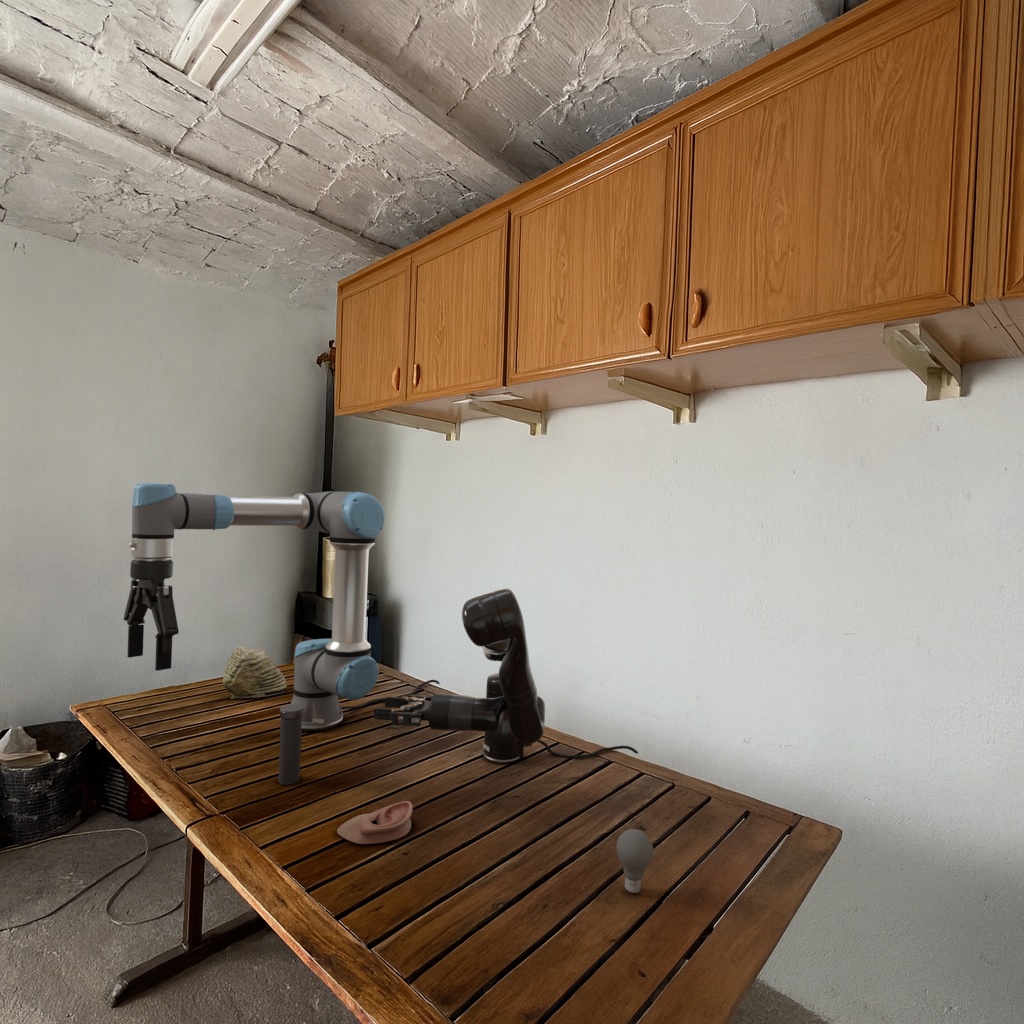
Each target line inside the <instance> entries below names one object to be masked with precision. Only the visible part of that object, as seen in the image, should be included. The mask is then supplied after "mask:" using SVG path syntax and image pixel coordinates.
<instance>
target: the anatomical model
mask: <svg viewBox="0 0 1024 1024" xmlns="http://www.w3.org/2000/svg"><path fill="white" fill-rule="evenodd" d="M413 811H414V810H413V804H412V802H411V801H409V800H404V801H399V802H396V803H392V804H389V805H387V806H384V807H382V808H380V809H377V810H375V811H373V812H370V813H362V814H358V815H357V816H354V817H352V818H350V819H348V820H347V821H345V822H344V823H342V824H341V825H339V827H338V828H337V829H336V833H337V835H339V837H342V838H343V839H345V840H346V841H349V842H351V843H353V844H357V845H373V844H382V843H388V842H391V841H394V840H398V839H400V838H403V837H404V836H406V835H407V834H408V833H409V832H410V831H411V828H412V820H411V817H412V814H413Z"/></svg>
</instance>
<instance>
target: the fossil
mask: <svg viewBox="0 0 1024 1024" xmlns="http://www.w3.org/2000/svg"><path fill="white" fill-rule="evenodd" d="M222 676H223V677H222V685H223V687H224V688H225V690H226V691H228V693H229V698H230V699H250V698H264V697H271V696H275V695H281V694H284V693H285V691H286V689H287V687H288V686H287V680H286V678H285V676H284V674H283V673H282V672H281V669H279V668H278V667H277V665H276V663H275V662H274V660H273V659H272V658H271V657H270V656H269V655H268V654H267V653H266V652H265V650H264V649H263V648H260V647H258V648H251V647H247V646H246V647H245V646H238V647H237V648H236V649H235V650H233V651H232V653H231V656H230V657H229V659H228V660H227V663H226V666H225V668H224V671H223V675H222Z"/></svg>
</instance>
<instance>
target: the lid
mask: <svg viewBox="0 0 1024 1024" xmlns="http://www.w3.org/2000/svg"><path fill="white" fill-rule="evenodd" d="M290 704H291V703H290ZM290 704H285V705H282V706H280V708H279V717H280V719H281V718H285V719H294V718H299V717H301V716H302V715H303V706H301V705H297V704H291V705H290Z"/></svg>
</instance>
